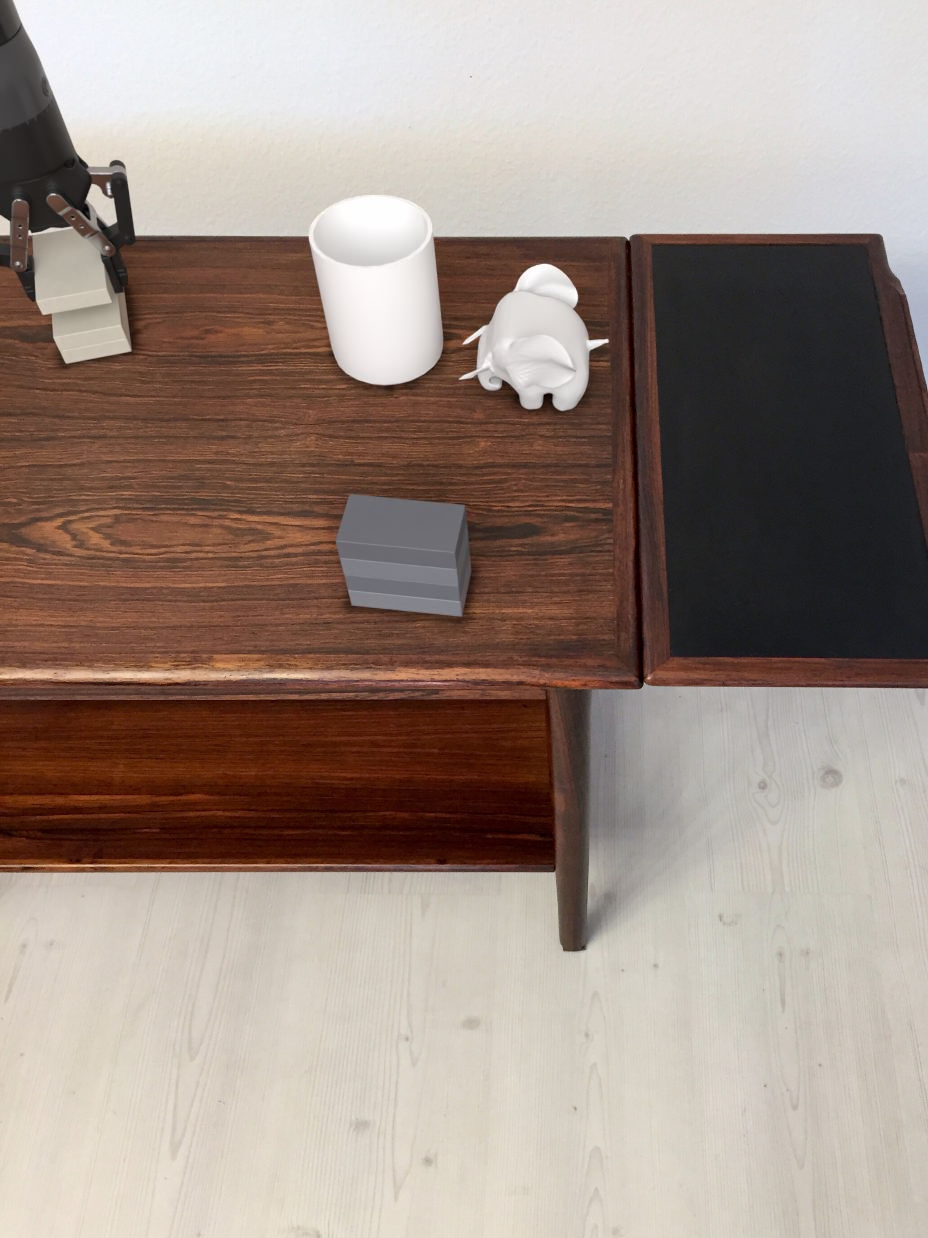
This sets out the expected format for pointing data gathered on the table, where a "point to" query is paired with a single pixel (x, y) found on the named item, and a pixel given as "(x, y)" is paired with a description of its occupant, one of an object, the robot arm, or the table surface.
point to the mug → (379, 287)
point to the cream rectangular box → (93, 330)
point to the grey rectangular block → (405, 554)
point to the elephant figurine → (536, 341)
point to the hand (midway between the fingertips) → (82, 293)
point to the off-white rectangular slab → (68, 272)
